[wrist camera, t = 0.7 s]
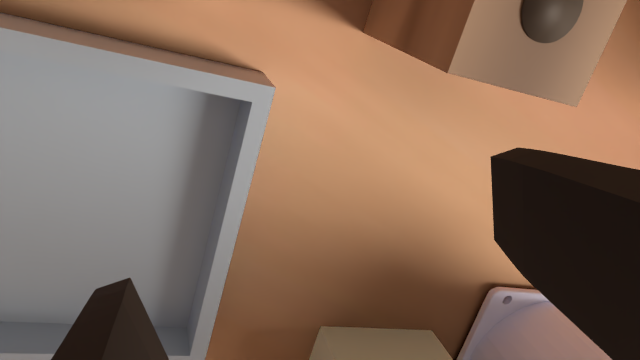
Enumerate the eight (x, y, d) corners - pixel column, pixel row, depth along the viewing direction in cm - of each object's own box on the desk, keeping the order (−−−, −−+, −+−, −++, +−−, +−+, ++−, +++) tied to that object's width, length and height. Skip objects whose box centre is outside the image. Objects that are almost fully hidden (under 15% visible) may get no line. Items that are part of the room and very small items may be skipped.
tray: (263, 72, 18) (275, 87, 16) (198, 333, 22) (202, 368, 20) (-146, -22, 14) (-187, -14, 12) (-138, 323, 18) (-169, 366, 16)
